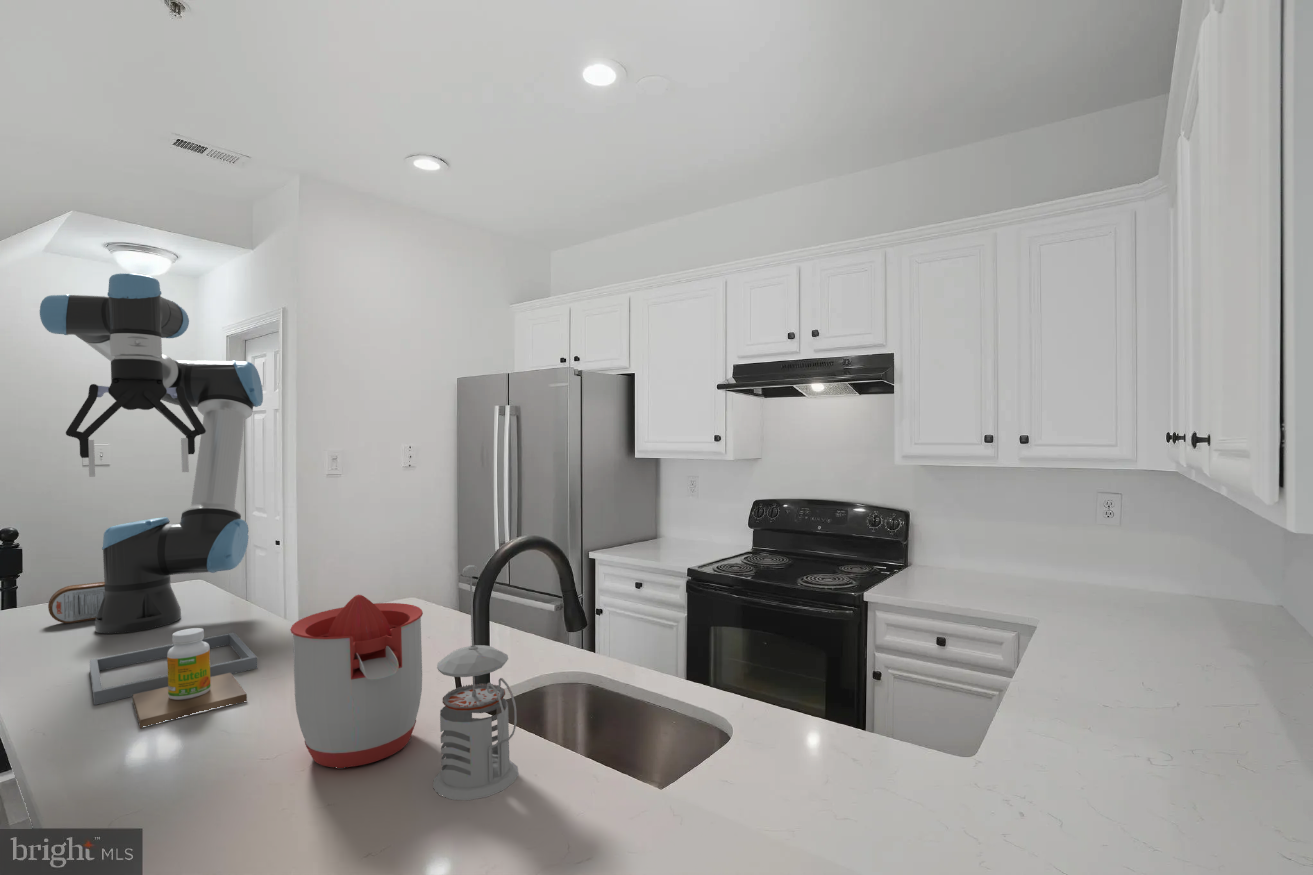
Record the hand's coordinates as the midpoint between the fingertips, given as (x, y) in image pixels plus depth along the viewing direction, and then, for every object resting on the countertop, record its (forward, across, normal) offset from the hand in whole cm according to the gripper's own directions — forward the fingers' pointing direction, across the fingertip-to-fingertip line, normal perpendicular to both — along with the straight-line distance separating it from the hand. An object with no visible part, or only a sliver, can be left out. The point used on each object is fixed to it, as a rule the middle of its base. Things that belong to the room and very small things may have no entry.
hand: (140, 474), depth 122 cm
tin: (+35, -6, +47) cm, 59 cm away
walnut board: (+35, +3, -30) cm, 46 cm away
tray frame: (+35, +3, -10) cm, 36 cm away
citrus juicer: (+35, +17, -66) cm, 77 cm away
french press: (+35, +25, -83) cm, 94 cm away
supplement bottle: (+34, +3, -30) cm, 45 cm away
